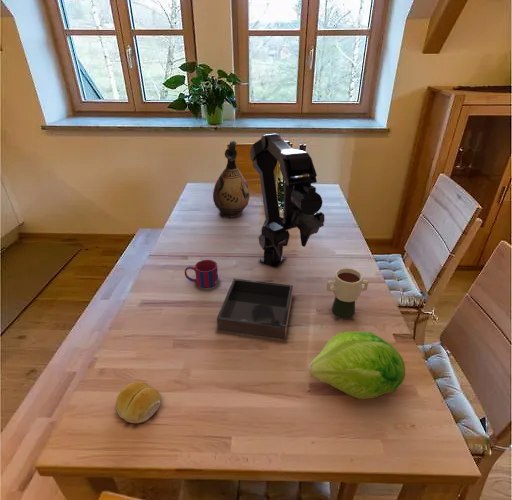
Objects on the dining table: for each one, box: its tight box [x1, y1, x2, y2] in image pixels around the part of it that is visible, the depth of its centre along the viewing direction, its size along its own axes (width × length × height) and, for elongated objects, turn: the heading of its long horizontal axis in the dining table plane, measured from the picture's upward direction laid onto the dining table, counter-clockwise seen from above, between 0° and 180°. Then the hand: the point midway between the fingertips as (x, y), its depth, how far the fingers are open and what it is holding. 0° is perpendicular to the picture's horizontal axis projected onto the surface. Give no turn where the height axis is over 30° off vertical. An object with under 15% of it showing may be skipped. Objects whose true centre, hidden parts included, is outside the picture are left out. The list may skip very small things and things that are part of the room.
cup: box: [184, 259, 219, 289], centre depth 109 cm, size 7×10×7 cm
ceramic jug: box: [212, 140, 251, 219], centre depth 146 cm, size 17×15×30 cm
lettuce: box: [308, 331, 406, 401], centre depth 75 cm, size 15×20×14 cm
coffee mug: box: [326, 267, 369, 320], centre depth 95 cm, size 11×7×13 cm, turn 92°
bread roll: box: [115, 380, 162, 424], centre depth 73 cm, size 8×9×4 cm
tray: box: [216, 278, 294, 340], centre depth 97 cm, size 18×18×5 cm
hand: (292, 251), depth 102 cm, fingers open, 9 cm apart
